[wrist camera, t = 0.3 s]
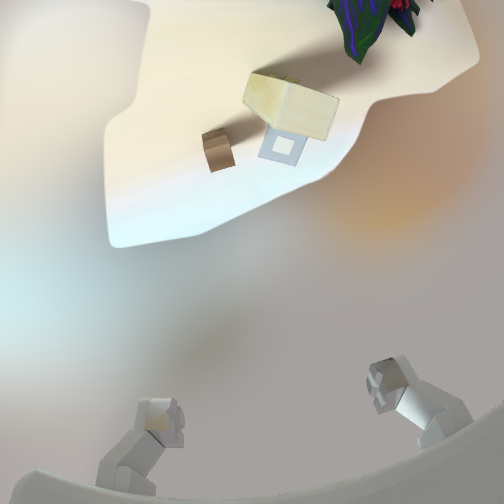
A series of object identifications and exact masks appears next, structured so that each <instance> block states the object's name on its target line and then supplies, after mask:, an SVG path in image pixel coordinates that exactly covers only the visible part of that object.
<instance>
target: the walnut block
mask: <svg viewBox="0 0 504 504" xmlns="http://www.w3.org/2000/svg"><path fill="white" fill-rule="evenodd" d="M202 139H203V147H204V152H205V155H206V158H207V162H208V165H209V168H210V171H211V172H215V171H218V170H222V169H225V168H228V167H232V166H235V162H234V158H233V154H232V150H231V147H230V143H229V140H228V138H227V135H226V133H225V130H224V128H223V129H220V130H216V131H213V132H209V133H206V134H203V135H202Z"/></svg>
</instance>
